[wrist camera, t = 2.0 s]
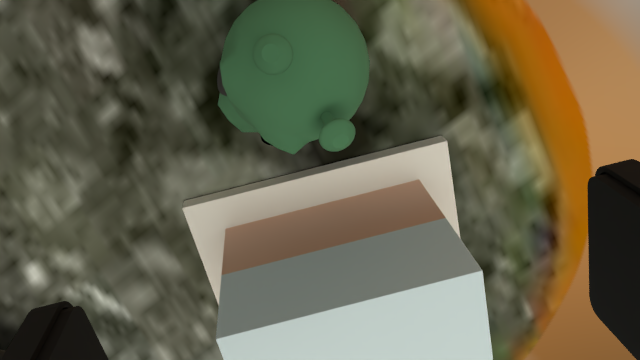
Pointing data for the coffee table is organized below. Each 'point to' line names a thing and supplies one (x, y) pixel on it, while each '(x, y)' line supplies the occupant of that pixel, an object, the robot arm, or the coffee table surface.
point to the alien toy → (294, 73)
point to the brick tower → (345, 262)
